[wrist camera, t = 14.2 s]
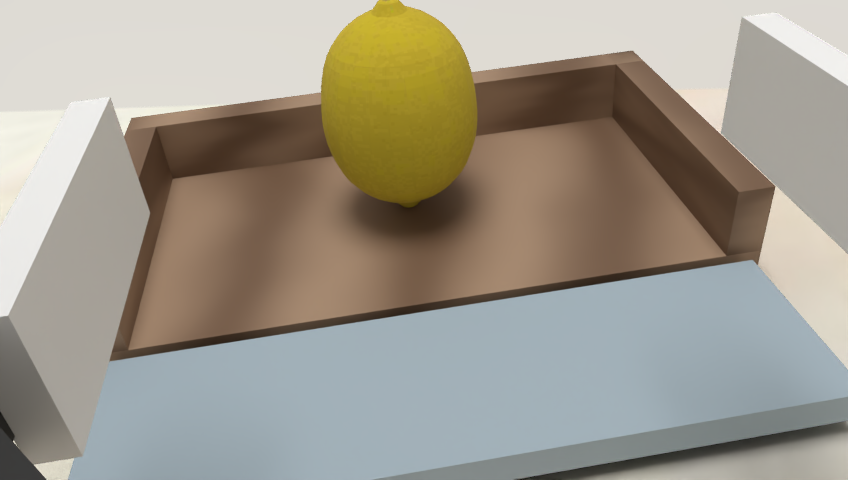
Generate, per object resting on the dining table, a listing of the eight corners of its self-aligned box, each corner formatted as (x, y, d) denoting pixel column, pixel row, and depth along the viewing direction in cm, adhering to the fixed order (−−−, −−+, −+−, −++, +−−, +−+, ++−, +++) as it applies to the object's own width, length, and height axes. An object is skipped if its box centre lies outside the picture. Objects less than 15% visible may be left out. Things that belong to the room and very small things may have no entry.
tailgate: (113, 384, 23) (66, 558, 19) (102, 362, 23) (51, 535, 18) (747, 283, 25) (857, 418, 20) (752, 259, 24) (867, 393, 20)
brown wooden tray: (104, 389, 24) (59, 294, 22) (158, 198, 34) (131, 118, 31) (753, 285, 26) (775, 186, 23) (625, 131, 35) (632, 50, 33)
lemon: (457, 159, 31) (446, -35, 27) (500, 229, 27) (495, 11, 22) (329, 184, 31) (294, -12, 26) (350, 260, 26) (314, 40, 21)
